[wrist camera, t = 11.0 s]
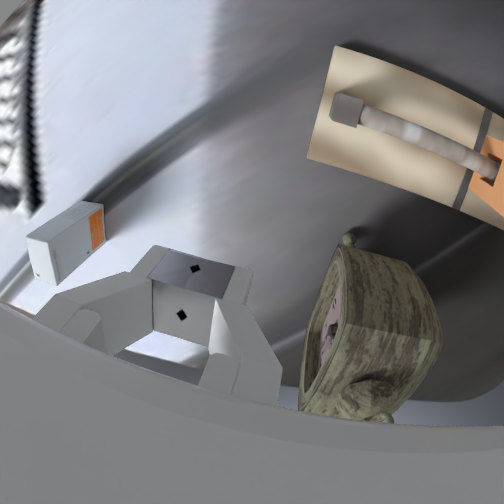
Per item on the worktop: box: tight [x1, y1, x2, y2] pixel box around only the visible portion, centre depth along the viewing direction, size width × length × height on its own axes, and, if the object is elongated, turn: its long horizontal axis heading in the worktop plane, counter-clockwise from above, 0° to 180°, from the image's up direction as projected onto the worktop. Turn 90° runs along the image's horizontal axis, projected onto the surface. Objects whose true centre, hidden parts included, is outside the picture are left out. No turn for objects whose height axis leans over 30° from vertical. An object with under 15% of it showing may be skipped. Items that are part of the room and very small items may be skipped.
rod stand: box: [307, 46, 504, 230], centre depth 26 cm, size 12×26×8 cm, turn 78°
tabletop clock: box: [298, 232, 443, 424], centre depth 28 cm, size 14×9×25 cm, turn 170°
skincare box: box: [26, 201, 106, 286], centre depth 36 cm, size 6×4×12 cm
